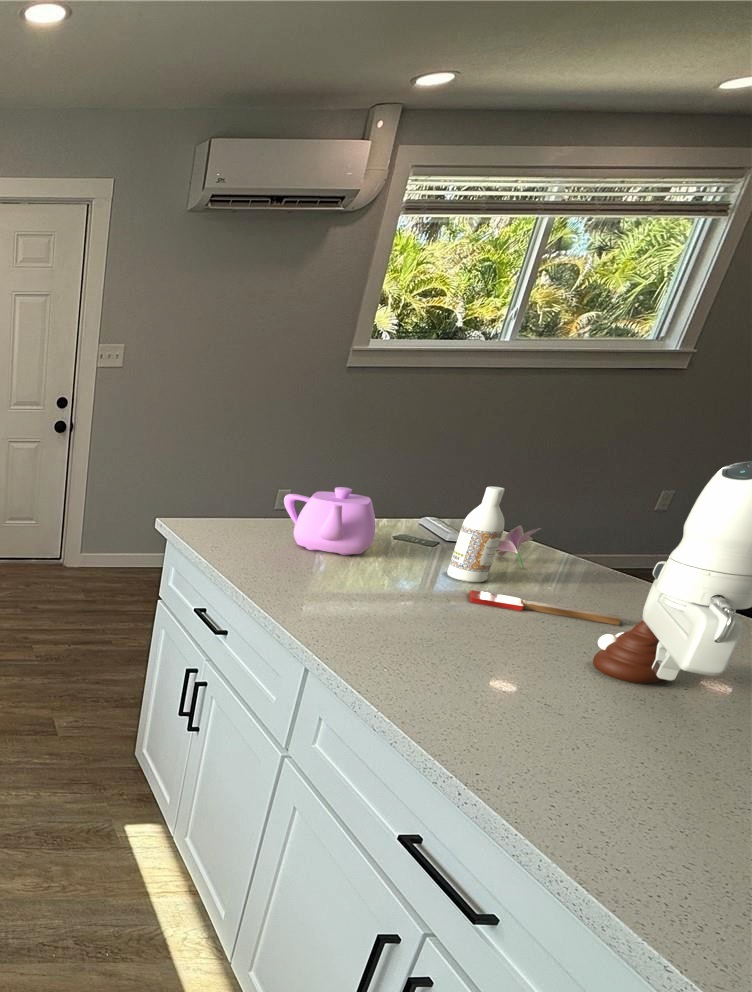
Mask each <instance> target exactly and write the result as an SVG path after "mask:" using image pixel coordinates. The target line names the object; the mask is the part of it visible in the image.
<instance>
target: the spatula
mask: <svg viewBox="0 0 752 992" xmlns="http://www.w3.org/2000/svg"><path fill="white" fill-rule="evenodd" d="M468 596H469V602H470V603H473V604H478V605H485V606H490V607H491V606H492V607H496V608H501V609H502V608H503V609H508V610H514V611H520V612H522V611H523V610H529V611H533V612H538V613H545V614H552V615H556V616H562V617H569V618H574V619H580V620H586V621H592V622H597V623H599V622H600V623H604V624H609V625H614V626H615V625H616V626H620V624H621V622H622V618H621V616H620V615H615V614H611V613H604V612H599V611H593V610H586V609H585V610H584V609H581V608H575V607H568V606H562V605H556V604H550V603H543V602H539V601H538V602H537V601H532V600H527V599H521V597H516V596H515V597H514V596H510V595H503V594H497V593H492V592H485V591H479V590H473V589H470V590H469V593H468Z"/></svg>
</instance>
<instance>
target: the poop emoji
mask: <svg viewBox="0 0 752 992" xmlns="http://www.w3.org/2000/svg"><path fill="white" fill-rule="evenodd" d="M658 642H659V640H658V639H657V637H656V636H655V635H654V633H653V632H652V631H651V629H650V628H649V627H648V626H647V624H646V623H645V622H644V621H643V620H640V621H639V622H638V623H637V624H635V626H634V625H633V628H631V629H628V630H626V631H623V632H618V633H616V634H615V635H614V634H612V633H611V634H610V633H606V634H603V635H601V636H600V637H598V639H597V645H598V647H599V649H600V650H598V651H597V652H596V653H595V655H594V656H593V658H592V664H593V666H594V668H595V669H596V670H597V671H598V672H600V673H602V674H604V675H605V676H608V677H611V678H614V679H616V680H620V681H622V682H627V683H631V684H651V683H656V682H667V680H665V679H660V678H658V677H657V675H656V674H655V672H654V671H653V669H652V665H653V663H654V661H655V659H656V651H657V644H658Z"/></svg>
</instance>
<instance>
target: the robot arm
mask: <svg viewBox="0 0 752 992" xmlns="http://www.w3.org/2000/svg"><path fill="white" fill-rule="evenodd" d="M682 534H683V535H682V539H681V540H680V541H679V544H678V545H677V546H676V547H675V548H674V549H673V550H672V551H671V552H670V555H669V556H668V559H667V560H666V561H658V562H657V563H656V564H655V566H654V568H653V569H652V576H653V577H654V580H653V582H652V584H651V587H650V589H649V592H648V594H647V597H646V601H645V603H644V605H643V609H642V621H644V622H645V623H646V624H647V626H648V627H649V628H650V629H651V631H652V632H653V633H654V635H655V636H656V637H657V639H658V640H659V642H658V644H657V651H656V659H655V661H654V663H653V665H652V669H653V671H654V672H655V674H656V675H657V677H658V678H660V679H665V680H666V681H675V680H676V678H677V676H678V674H679V673H680V671H685V672H689V673H693V674H698V675H703V676H710V677H718V676H720V675H722V674H723V673H724V672H725V671H726V670H727V668H728V665H729V664H730V661H731V659H732V657H733V655H734V653H735V650H736V648H737V645H738V644H739V641H740V639H741V635H742V632H743V624H742V621H741V620H740V619H739V618H738V617H737V616H736V615H735V613H736V612H737V610H747V609H750V608H752V461H741V462H736V463H732V464H729V465H726V466H724V467H722V468H721V469H719V470H718V471H717V472H716V473H715V474H714V475H713V476H712V477H711V479H710V480H709V481H708V482H707V484H706V485H705V486H704V488H703V489H702V490H701V492H700V494H699V495H698V497H697V498H696V499H695V502H694V504H693V505H692V507H691V510H690V512H689V513H688V516H687V518H686V520H685V522H684V524H683V533H682Z"/></svg>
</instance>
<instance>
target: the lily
mask: <svg viewBox="0 0 752 992" xmlns="http://www.w3.org/2000/svg"><path fill="white" fill-rule="evenodd" d="M539 530H542V527H539V528H535V529H531V530H529V531H526V532H524V529H523V526H522V525H518V526H516V527H514V528H513V529H511V530H510V531H508V533H506V535H505V536H504V537H503V538H501V540H500V542H499V545H498V547H497V550H496V553H497V556H498V557H499V558H502V557H503V556H504V555H506V554H507V553H508V552H509V553H510V552H511V553H516V555H517V557H518V560H519V563H520V566H521V567H520V568H521V569H524V564H523V562H522V558H521V556H520V553H519V548H520V546H522V545H521V544H523V543H527V542H531V541H533V537H531V536H532V535H533V534H535V533H537V532H539Z"/></svg>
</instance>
